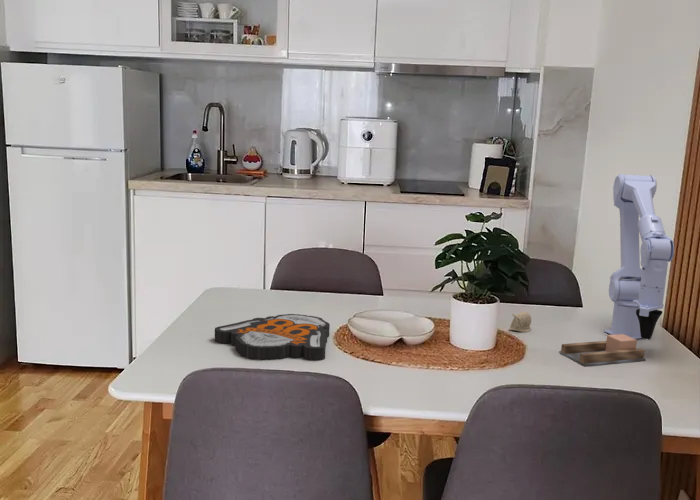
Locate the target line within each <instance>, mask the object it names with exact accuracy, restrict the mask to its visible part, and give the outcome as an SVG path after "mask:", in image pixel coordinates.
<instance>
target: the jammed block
mask: <svg viewBox="0 0 700 500" xmlns="http://www.w3.org/2000/svg"><path fill="white" fill-rule="evenodd" d="M605 341H606V349H605V351H615V350H627V349H637V345H638V339H634V338H631V337H629V336H627V335H624V334H617V335H611V334H606V340H605Z"/></svg>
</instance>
